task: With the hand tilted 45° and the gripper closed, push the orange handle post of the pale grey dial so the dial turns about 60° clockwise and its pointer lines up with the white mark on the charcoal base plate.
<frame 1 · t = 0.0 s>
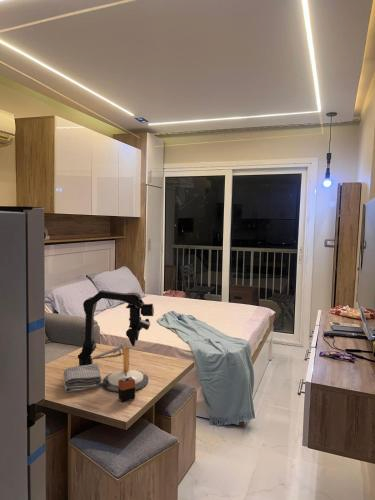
hand: (135, 343, 201), 15 cm above the table, tool pointing down, fingers open, 9 cm apart
battery: (126, 399, 168), on the table
dial: (125, 366, 185), point 8 cm above the table, hinge at 0.0°
towel: (83, 385, 183), on the table
dial plate: (125, 382, 185), on the table
caliper: (107, 356, 221), on the table
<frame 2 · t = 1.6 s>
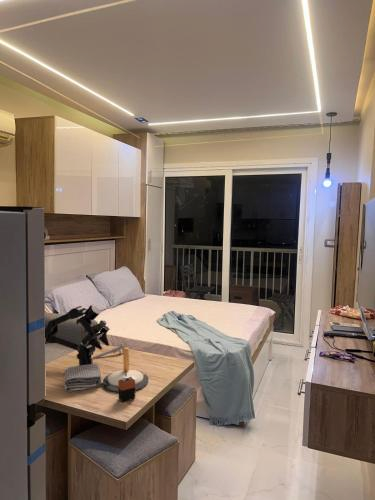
hand: (105, 347, 197), 14 cm above the table, tool tilted 45°, fingers open, 6 cm apart
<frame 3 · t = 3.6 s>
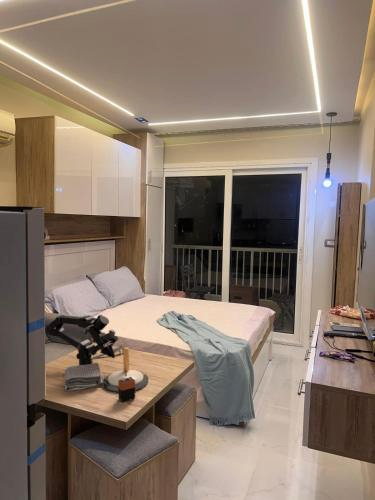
hand: (114, 357, 195), 9 cm above the table, tool tilted 45°, fingers closed
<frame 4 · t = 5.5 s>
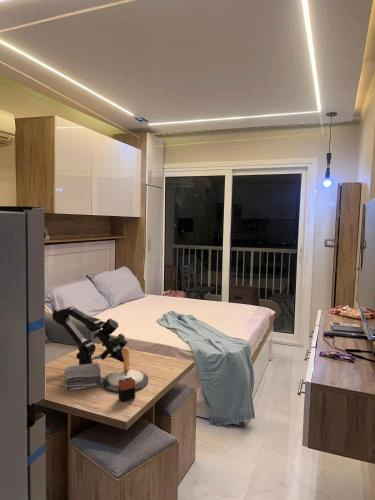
hand: (123, 361, 193), 7 cm above the table, tool tilted 45°, fingers closed, pressing on dial
dial: (125, 366, 185), point 8 cm above the table, hinge at 0.8°, touching gripper
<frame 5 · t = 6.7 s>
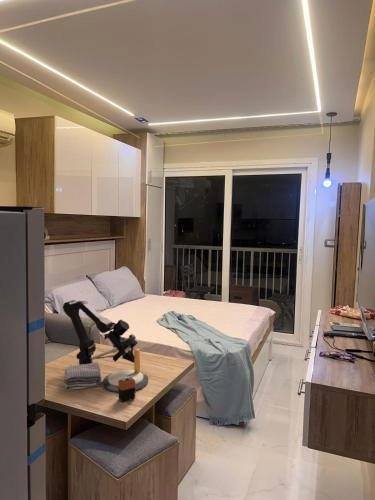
hand: (135, 362, 192), 7 cm above the table, tool tilted 45°, fingers closed, pressing on dial
dial: (126, 366, 185), point 8 cm above the table, hinge at 45.9°, touching gripper
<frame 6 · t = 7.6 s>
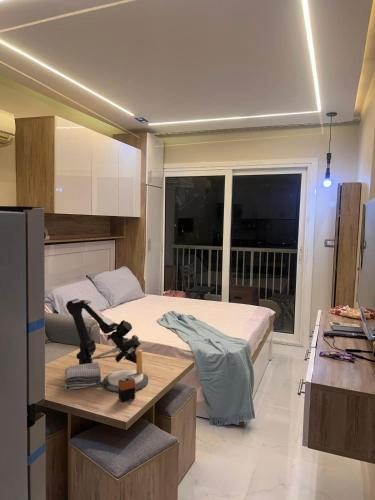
hand: (138, 363, 191), 7 cm above the table, tool tilted 45°, fingers closed, pressing on dial
dial: (126, 366, 185), point 8 cm above the table, hinge at 59.7°, touching gripper
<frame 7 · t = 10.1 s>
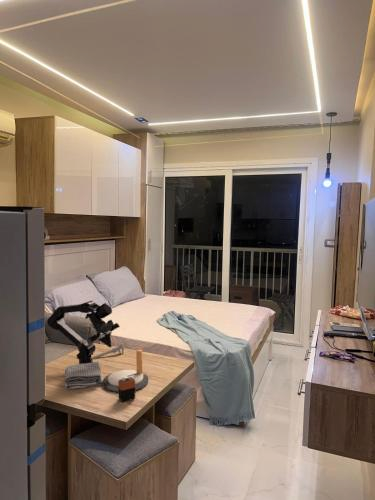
hand: (110, 347, 197), 14 cm above the table, tool tilted 30°, fingers closed
dial: (126, 366, 185), point 8 cm above the table, hinge at 59.8°
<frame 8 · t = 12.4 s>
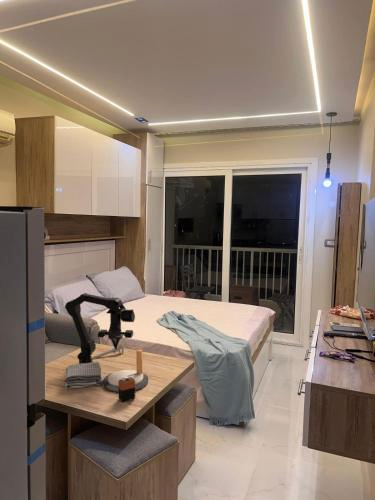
hand: (115, 348, 200), 12 cm above the table, tool pointing down, fingers closed
at the end: dial at +60° (first picture: +0°) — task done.
